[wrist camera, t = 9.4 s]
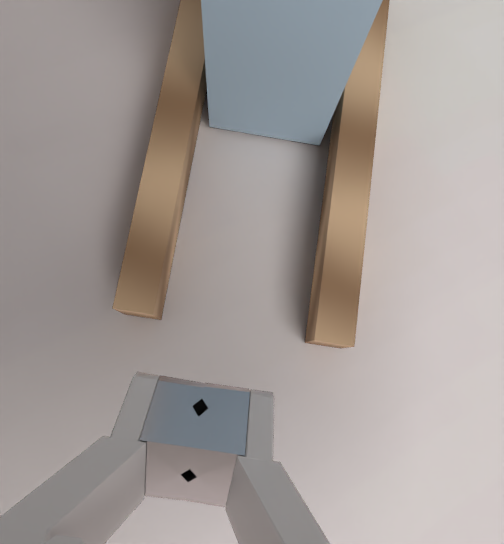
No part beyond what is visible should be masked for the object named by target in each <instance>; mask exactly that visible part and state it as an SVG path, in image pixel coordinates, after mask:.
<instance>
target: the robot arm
mask: <svg viewBox="0 0 504 544" xmlns="http://www.w3.org/2000/svg"><path fill="white" fill-rule="evenodd" d="M273 442H274V395H273V393H272V392H265V391H258V390H252V389H247V388H240V387H233V386H226V385H218V384H211V383H200V382H195V381H189V380H183V379H178V378H172V377H167V376H161V375H154V374H148V373H142V372H136V374H135V375H134V377H133V379H132V381H131V384H130V386H129V389H128V392H127V394H126V397H125V399H124V402H123V405H122V407H121V410H120V413H119V415H118V418H117V420H116V423H115V426H114V428H113V431H112V433H111V436H110V437H106V436H102V437H101V438H100V439H99V440H97V441H96V442H95V443H93V444H92V445H91V446H90V447H88V448H87V449H86V450H85V451H83V452H82V453H81V454H80V455H78V456H77V457H76V458H74V459H73V460H72V461H71V462H69V463H68V464H67V465H66V466H64V467H63V468H62V469H60V470H59V471H58V472H57V473H55V474H54V475H53V476H52V477H50V478H49V479H48V480H46V481H45V482H44V483H43V484H41V485H40V486H39V487H38V488H36V489H35V490H34V491H32V492H31V493H30V494H29V495H27V496H26V497H25V498H24V499H22V500H21V501H20V502H18V503H17V504H16V505H15V506H13V507H12V508H11V509H10V510H8V511H7V512H6V513H4V514H3V515H2V516H1V517H0V544H105V542H106V541H107V540H108V539H109V538H110V537H111V536H112V535H113V533H114V532H115V531H116V530H117V529H118V528H119V527H120V526H121V524H122V523H123V522H124V521H125V520H126V519H127V518H128V517H129V515H130V514H131V513H132V512H133V511H134V510H135V509H136V508H137V506H138V505H139V504H140V503H141V502H142V501H143V500H144V496H149V497H158V498H167V499H176V500H186V501H191V502H197V503H203V504H208V505H214V506H220V507H226V509H225V510H226V513H227V515H228V518H229V520H230V523H231V525H232V528H233V530H234V533H235V535H236V538H237V540H238V543H239V544H330V543H329V541H328V539H327V538H326V536H325V535H324V533H323V531H322V530H321V528H320V526H319V525H318V523H317V521H316V520H315V518H314V517H313V515H312V513H311V512H310V510H309V508H308V507H307V505H306V503H305V502H304V500H303V499H302V497H301V495H300V494H299V492H298V490H297V489H296V487H295V485H294V484H293V482H292V481H291V479H290V477H289V476H288V474H287V472H286V471H285V469H284V467H283V466H282V464H281V462H277V461H273Z"/></svg>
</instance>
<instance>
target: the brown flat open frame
mask: <svg viewBox="0 0 504 544" xmlns="http://www.w3.org/2000/svg"><path fill="white" fill-rule="evenodd" d="M388 9H389V0H383V1H382V3H381V5H380V8H379V10H378V12H377V14H376V17H375V19H374V21H373V24H372V26H371V28H370V31H369V33H368V35H367V37H366V40H365V42H364V44H363V47H362V49H361V51H360V54H359V56H358V58H357V60H356V63H355V65H354V67H353V70H352V72H351V74H350V77H349V79H348V81H347V83H346V86H345V88H344V90H343V93H342V95H341V97H340V100H339V102H338V104H337V106H336V109H335V111H334V114H333V122H332V130H331V138H330V146H329V154H328V161H327V169H326V177H325V185H324V193H323V201H322V209H321V217H320V225H319V233H318V241H317V249H316V257H315V265H314V273H313V281H312V289H311V297H310V305H309V313H308V321H307V329H306V337H305V343H310V344H316V345H323V346H329V347H335V348H347V347H354V344H355V334H356V324H357V314H358V304H359V295H360V285H361V275H362V265H363V255H364V245H365V236H366V226H367V216H368V206H369V196H370V186H371V176H372V167H373V157H374V147H375V137H376V127H377V117H378V107H379V98H380V88H381V78H382V68H383V58H384V48H385V38H386V29H387V19H388ZM206 89H207V83H206V68H205V53H204V38H203V23H202V8H201V0H181V1H180V5H179V10H178V14H177V19H176V23H175V28H174V32H173V37H172V41H171V46H170V51H169V55H168V60H167V64H166V69H165V73H164V78H163V82H162V87H161V91H160V96H159V100H158V105H157V109H156V114H155V118H154V123H153V127H152V132H151V136H150V141H149V145H148V150H147V154H146V159H145V163H144V168H143V172H142V177H141V181H140V186H139V190H138V195H137V199H136V204H135V208H134V213H133V217H132V222H131V226H130V231H129V235H128V240H127V244H126V249H125V253H124V258H123V262H122V267H121V271H120V276H119V280H118V285H117V290H116V294H115V299H114V303H113V309H115V310H117V311H119V312H121V313H123V314H127V315H133V316H140V317H146V318H152V319H159V320H161V318H162V313H163V308H164V302H165V297H166V292H167V287H168V282H169V277H170V272H171V267H172V262H173V257H174V252H175V247H176V241H177V236H178V231H179V226H180V221H181V216H182V211H183V206H184V201H185V196H186V191H187V186H188V181H189V175H190V170H191V165H192V160H193V155H194V150H195V145H196V140H197V135H198V130H199V125H200V120H201V114H202V109H203V104H204V99H205V94H206Z"/></svg>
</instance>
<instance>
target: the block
mask: <svg viewBox="0 0 504 544" xmlns="http://www.w3.org/2000/svg"><path fill="white" fill-rule="evenodd" d="M382 1H383V0H201V8H202V23H203V38H204V53H205V68H206V83H207V98H208V113H209V127H214V128H220V129H226V130H232V131H237V132H243V133H249V134H255V135H261V136H267V137H273V138H278V139H284V140H290V141H296V142H302V143H308V144H313V145H319V146H320V143H321V141H322V139H323V136H324V134H325V132H326V129H327V127H328V125H329V123H330V120H331V118H332V116H333V113H334V111H335V109H336V106H337V104H338V102H339V100H340V97H341V95H342V93H343V90H344V88H345V86H346V83H347V81H348V79H349V77H350V74H351V72H352V70H353V67H354V65H355V63H356V60H357V58H358V56H359V54H360V51H361V49H362V47H363V44H364V42H365V40H366V37H367V35H368V33H369V31H370V28H371V26H372V24H373V21H374V19H375V17H376V14H377V12H378V10H379V8H380V5H381V3H382Z"/></svg>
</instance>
